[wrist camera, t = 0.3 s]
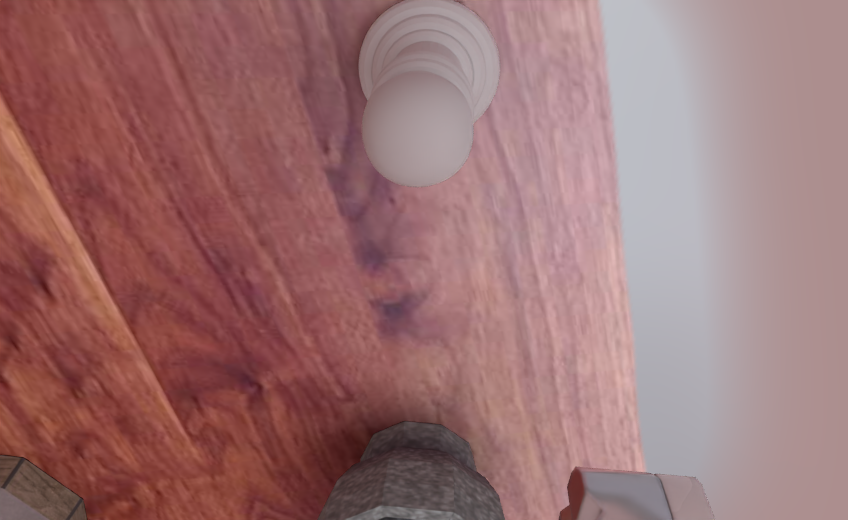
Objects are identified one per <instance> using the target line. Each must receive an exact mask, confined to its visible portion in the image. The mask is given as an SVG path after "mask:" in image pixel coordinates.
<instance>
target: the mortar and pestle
mask: <svg viewBox="0 0 848 520" xmlns="http://www.w3.org/2000/svg"><path fill="white" fill-rule="evenodd" d="M318 520H505V518H504V514H503V510H502V507H501V503H500V499H499V495H498V494H497V493H496V491H495V490H494V489H493V487H492V486H491V485H490V484H489V482H488V481H487V480H486V478H485V477H483V476H482V475H480V474H479V473H477V472H476V466H475V463H474V459H473V455H472V452H471V448H470V445H469V443H468V442H466V441H465V440H463V439H462V438H460V437H459V436H457V435H456V434H454V433H453V432H451V431H450V430H449V429H447V428H446V427H444V426H443V425H438V424H428V423H418V422H407V421H404V422H401V423H399V424H397V425H394V426H392V427H389V428H387V429H385V430H382V431H380V432H378V433H375V434H373V436H372V438H371V440H370V442H369V444H368V445H367V447H366V449H365V451H364V453H363V455H362V457H361V461H360V462H359V463H356V464H354V465H353V466H352V467H351V468H350V469H348V470H347V471H346V472H345V473H344V474H343V475H342V476H341V477H340V478H339V479H338V480H337V482H336V484H335V486H334V488H333V490H332V492H331V494H330V496H329V498H328V500H327V502H326V504H325V505H324V507H323V509H322V511H321V513H320V515H319V517H318Z"/></svg>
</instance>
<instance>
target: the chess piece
mask: <svg viewBox="0 0 848 520" xmlns="http://www.w3.org/2000/svg"><path fill="white" fill-rule="evenodd" d="M358 68H359V78H360V83H361V87H362V90H363V93H364V95H365V97H366V99H367V101H368V102H367V104H366V107H365V110H364V113H363V119H362V139H363V144H364V148H365V151H366V153H367V156H368V158H369V160H370V162H371V163H372V165H373V166H374V167H375V169H376V170H377V171H378V172H379V173H380V174H381V175H382V176H384V177H385V178H387V179H388V180H390V181H392V182H394V183H397V184H400V185H403V186H408V187H427V186H432V185H435V184H438V183H441V182H443V181H445V180H447V179H449V178H450V177H452V176H453V175H454V174H455V173H457V172H458V171H459V170H460V168H461V167H462V166H463V165H464V163H465V162H466V160H467V158H468V156H469V153H470V150H471V147H472V143H473V134H474V126H473V123H474V122H476V121H477V120H478V119H479V118H480V117H481V116H482V115H483V113H484V112H485V111H486V110H487V108H488V107H489V105H490V104H491V102H492V100H493V98H494V96H495V93H496V90H497V87H498V84H499V77H500V58H499V53H498V49H497V45H496V43H495V40H494V38H493V36H492V34H491V32H490V30H489V29H488V27H487V26H486V25H485V23H484V22H483V21H482V20H481V19H480V18H479V17H478V16H477V15H476V14H475V13H474V12H473V11H471V10H470V9H469V8H467V7H465V6H464V5H462V4H460V3H458V2H455V1H453V0H405V1H402V2H400V3H398V4H396V5H394V6H392V7H391V8H389V9H388V10H386V11H385V12H384V13H383V14H382V15H380V16H379V17H378V18H377V20H376V21H375V22H374V23H373V24H372V26H371V27H370V29H369V30H368V32H367V34H366V36H365V38H364V40H363V43H362V46H361V50H360V55H359V66H358Z"/></svg>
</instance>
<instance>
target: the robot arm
mask: <svg viewBox="0 0 848 520" xmlns="http://www.w3.org/2000/svg"><path fill="white" fill-rule="evenodd" d="M567 490H568V496H569V503H570V505H569V506H567V507H566V508H565V509H563V510H562V511H561V512H560V516H559V520H715V518H714V515H713V513H712V510H711V507H710V505H709V502H708V499H707V497H706V494H705V492H704V489H703V486H702V484H701V483H700V482H699V481H698V480H697V479H696V478H695V477H687V476H675V475H664V474H654V475H653V474H651V473H644V472H632V471H621V470H609V469H598V468H586V467H575V468H574V470H573V471H572V473H571V476H570V479H569V483H568V486H567Z"/></svg>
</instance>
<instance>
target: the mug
mask: <svg viewBox="0 0 848 520" xmlns="http://www.w3.org/2000/svg"><path fill="white" fill-rule="evenodd" d="M0 520H87V517H86V512H85V507H84V502H83V499H81V498H80V497H79V496H77V495H76V494H74V493H73V492H71V491H70V490H69V489H67V488H66V487H64V486H63V485H61V484H60V483H59V482H57V481H56V480H54V479H53V478H51V477H50V476H49V475H47V474H46V473H44V472H43V471H41V470H40V469H39V468H37V467H36V466H34V465H33V464H31V463H30V462H29V461H27V460H26V459H24V458H19V457H11V456H3V455H0Z"/></svg>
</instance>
